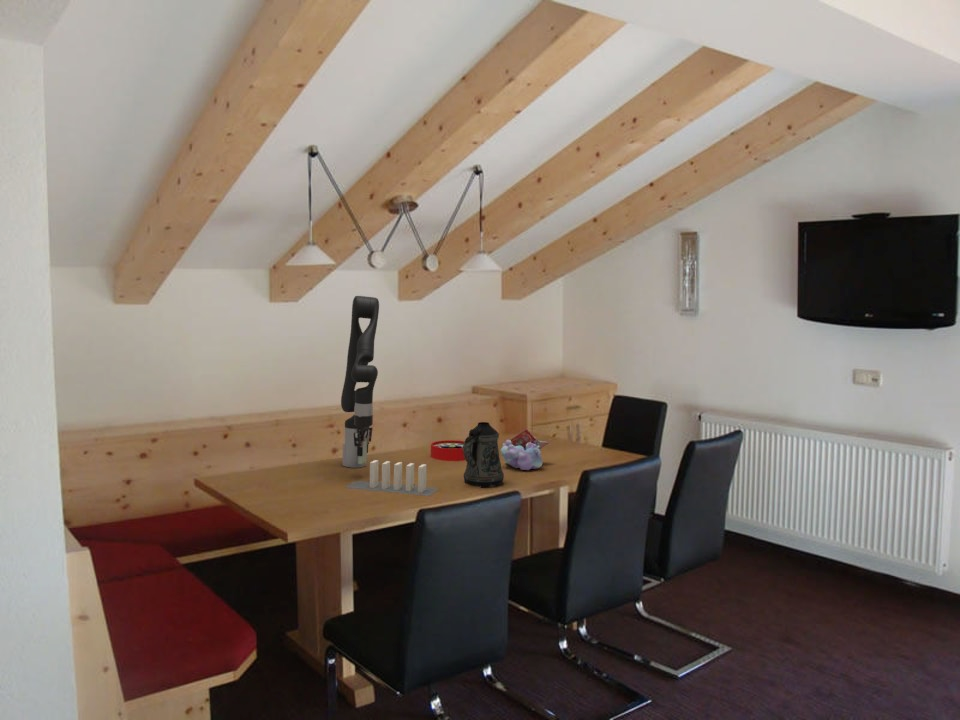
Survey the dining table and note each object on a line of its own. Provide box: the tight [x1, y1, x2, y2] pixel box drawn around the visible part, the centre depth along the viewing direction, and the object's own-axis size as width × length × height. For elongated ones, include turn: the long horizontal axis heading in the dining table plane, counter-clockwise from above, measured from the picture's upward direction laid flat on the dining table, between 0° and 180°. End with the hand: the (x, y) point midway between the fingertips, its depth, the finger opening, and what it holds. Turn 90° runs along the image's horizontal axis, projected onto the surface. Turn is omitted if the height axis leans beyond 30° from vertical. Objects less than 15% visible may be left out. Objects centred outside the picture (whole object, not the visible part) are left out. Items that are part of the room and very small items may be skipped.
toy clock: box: [430, 439, 466, 462], centre depth 383 cm, size 20×6×20 cm
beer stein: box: [463, 421, 505, 489], centre depth 332 cm, size 16×19×25 cm
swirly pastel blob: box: [499, 429, 550, 471], centre depth 365 cm, size 20×22×18 cm
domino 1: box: [358, 438, 368, 464], centre depth 334 cm, size 2×5×10 cm, turn 164°
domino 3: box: [381, 460, 391, 489], centre depth 321 cm, size 2×5×10 cm, turn 165°
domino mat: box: [344, 480, 439, 497], centre depth 321 cm, size 35×12×1 cm, turn 75°
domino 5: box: [405, 462, 415, 491], centre depth 318 cm, size 2×5×10 cm, turn 165°
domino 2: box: [369, 459, 380, 488], centre depth 322 cm, size 2×5×10 cm, turn 165°
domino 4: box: [393, 461, 403, 490], centre depth 319 cm, size 2×5×10 cm, turn 165°
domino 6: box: [417, 463, 427, 493], centre depth 317 cm, size 2×5×10 cm, turn 165°
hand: (362, 454), depth 334 cm, fingers closed on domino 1, 5 cm apart
